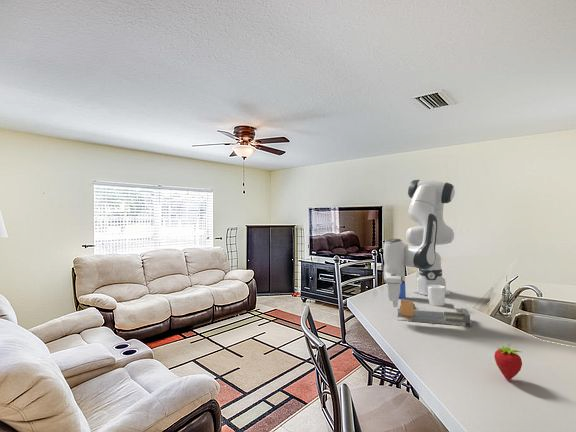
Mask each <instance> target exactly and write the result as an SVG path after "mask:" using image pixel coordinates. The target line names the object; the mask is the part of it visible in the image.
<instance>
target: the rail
mask: <svg viewBox="0 0 576 432" xmlns="http://www.w3.org/2000/svg"><path fill="white" fill-rule="evenodd" d="M413 315H414V316H405V315H401V309H400V308H397V316H396V317H397V318H406V319H416V320H417V319H419V320H427V321H428V320H430V321H440V322H452V323H454V322H455V323H460V324H461V325H460V324H455V326H457V327H468V328H473V322H472V321H471V315H470V313H469V311H468V309H467V308H462V307H461V312H458V311H457V312H455V311H454V312H453V311H435V310H419V309H416V310H413ZM416 320H415V321H414V320H410V322H412V323H413V322H414V323H418V321H416ZM398 321H399V322H400V321H401V322H406V320H404V319H398ZM427 321H421V323H426V324H429V322H427ZM434 324H435V325H441V323H437V322H433V325H434ZM444 325H447V326H452V324H450V323H444Z"/></svg>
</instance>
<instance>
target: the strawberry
mask: <svg viewBox="0 0 576 432" xmlns="http://www.w3.org/2000/svg"><path fill="white" fill-rule="evenodd" d="M511 344H512V342H510V343H509V344H508V346H504V345H501V347H498V348H497V349H496V351H494V357H493V358H494V360H495V363H496V364H495V365H496V366H497V368H498V369H499V371H500V373H501V374H502V375H503V377H504V379H506V380H507V381H511V380H512V379H513V378H515V377H516V376H517V375H518V374H519V373H520V372H521V370H522V366H523V361H522V358H521V356H520V354H518V353H521V351H520V350H517V349H512V348H511V347H509V346H510V345H511Z"/></svg>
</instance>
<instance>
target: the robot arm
mask: <svg viewBox="0 0 576 432" xmlns="http://www.w3.org/2000/svg"><path fill="white" fill-rule="evenodd" d="M455 193H456V191H455V187H454V184H452V183H449V182H442V181H437V180H425V179H424V180H420V179H413V180H412V181H410V183H409V185H408V186H407V196H408V197H409V198H410V199H411V200H410V203H409V207H408V210H407V212H408V217H409V218H410V220H412V221H413V222H414V223H415V224H418V225H417V226H411V227H409V228H407V230H406V232H405V239H406V241H407V242H408V243H409V244H410V245H409V244H406V243H405V242H403V240H402V239H400V238H389V239H387V240H386V241H385V242H384V244H383V245H384V246H383V256H382V257H383V262H384V265H383V279H384V280H385V283H386V286H387V295H388V296H389V297H388V300H389V301H390V302H392V307H393V308H398V304H399V303H398V302H399V299H400V298H399V294H400V284H402V281H403V280H405V281H406V272H405V271H406V267H408V268H415V269H419V270H418V271H419V276H418V277H417V279H416V288H415V289H414V290H413V293H416V294H420V295H422V296H423V295H424V296H428V288H427V286H428V285H441V286H445V296H447V295H450V294H451V293H450V291H448V290H447V284H446V282H447V281H446V278H444V277H443V269H442V260H441V259H442V257H441V254H440V253H438V252H436V246H439V245H440V246H442V245H447V244H451V243H452V242H453V241H454V239H455V232H454V230H453V229H452V228H451V226H449V225H447V223H446V222H445V221H444V206H445V204H449V203H451V202H452V200H453V199H454V197H455ZM404 266H405V268H404Z"/></svg>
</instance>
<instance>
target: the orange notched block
mask: <svg viewBox="0 0 576 432" xmlns="http://www.w3.org/2000/svg"><path fill="white" fill-rule="evenodd" d="M413 303H414V300H407V299H400V305H401V315H405V316H414V315H413V310H414V308H413Z"/></svg>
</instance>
